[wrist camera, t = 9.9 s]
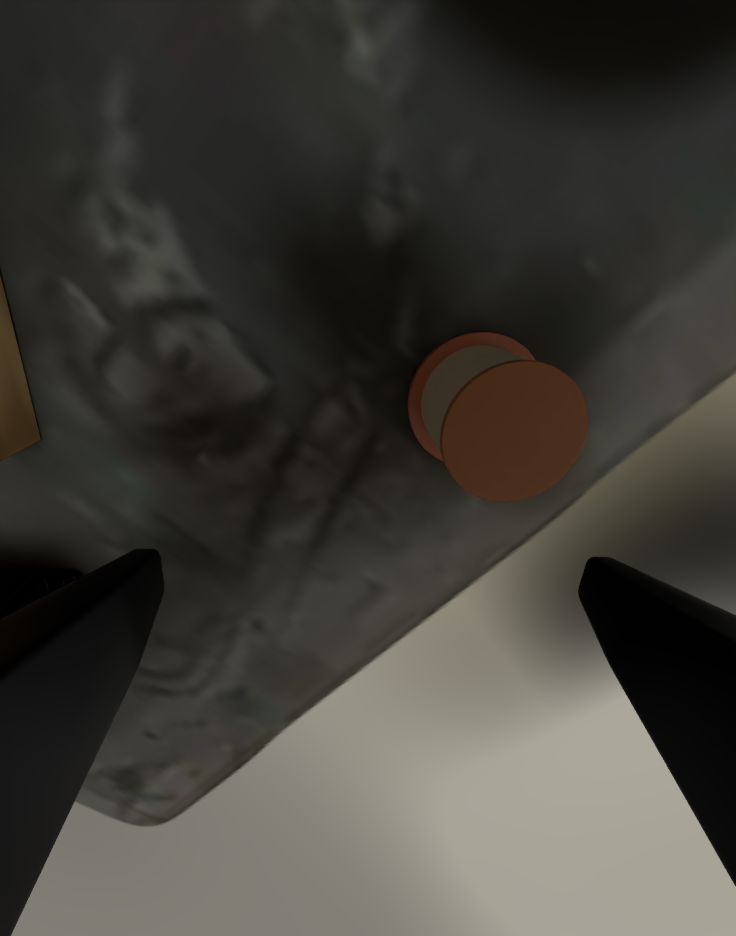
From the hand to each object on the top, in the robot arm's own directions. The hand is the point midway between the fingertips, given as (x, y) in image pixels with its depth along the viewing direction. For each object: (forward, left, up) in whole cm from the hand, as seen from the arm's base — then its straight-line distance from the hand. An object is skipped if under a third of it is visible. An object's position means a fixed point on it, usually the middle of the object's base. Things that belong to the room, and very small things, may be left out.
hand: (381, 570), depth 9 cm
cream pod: (+1, -5, -11) cm, 12 cm away
